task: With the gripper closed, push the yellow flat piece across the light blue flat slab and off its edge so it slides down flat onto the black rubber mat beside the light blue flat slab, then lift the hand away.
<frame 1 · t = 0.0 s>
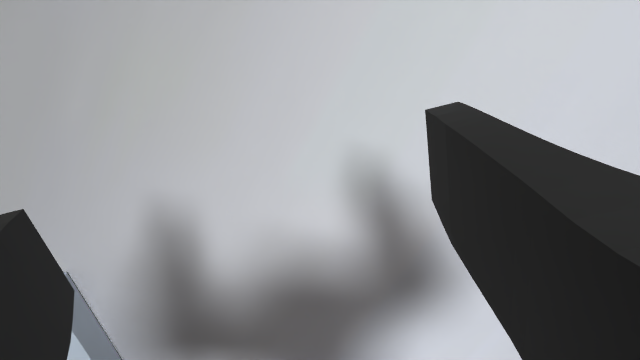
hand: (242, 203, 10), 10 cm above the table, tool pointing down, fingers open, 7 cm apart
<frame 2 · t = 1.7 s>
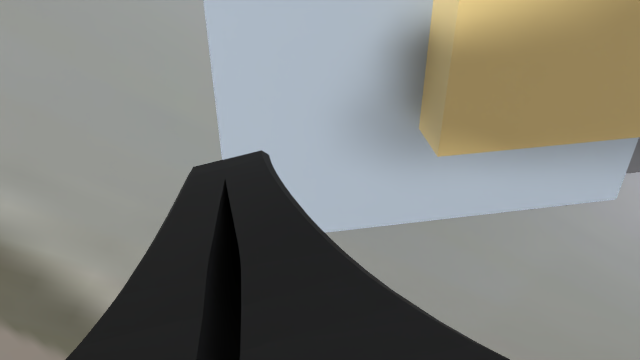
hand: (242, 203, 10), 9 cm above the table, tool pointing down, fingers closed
light blue flat slab: (437, 17, 19), on the table
yellow flat piece: (551, 32, 17), point 2 cm above the table, touching light blue flat slab
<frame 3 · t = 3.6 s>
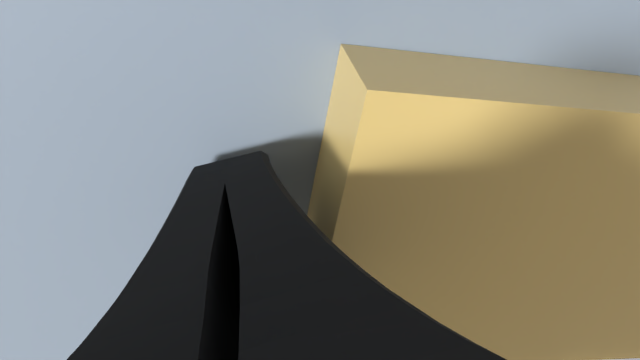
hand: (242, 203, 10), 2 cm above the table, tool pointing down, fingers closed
light blue flat slab: (290, 141, 12), on the table
yellow flat piece: (496, 200, 12), point 2 cm above the table, touching gripper
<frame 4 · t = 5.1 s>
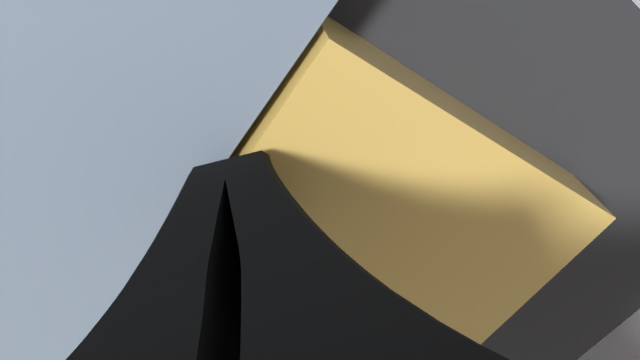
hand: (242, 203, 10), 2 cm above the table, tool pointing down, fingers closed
mat: (456, 248, 15), on the table
yellow flat piece: (378, 201, 13), resting on mat
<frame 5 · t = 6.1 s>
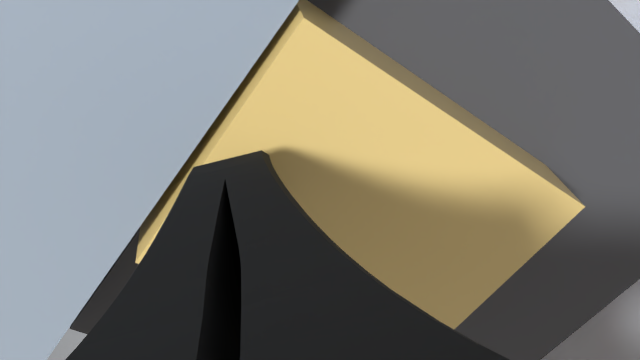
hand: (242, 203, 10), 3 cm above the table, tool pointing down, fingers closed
mat: (431, 236, 15), on the table
yellow flat piece: (354, 186, 14), resting on mat
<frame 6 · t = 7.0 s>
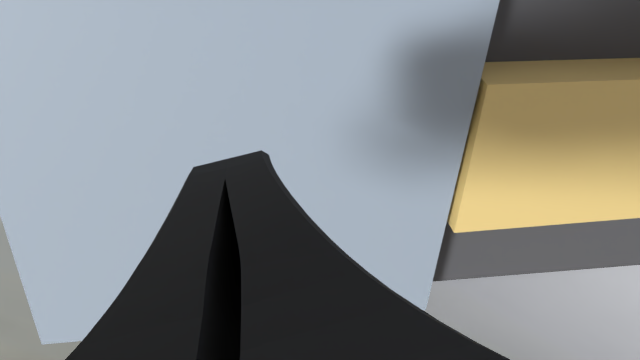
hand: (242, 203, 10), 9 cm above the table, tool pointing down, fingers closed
mat: (615, 134, 22), on the table
light blue flat slab: (239, 147, 20), on the table
yellow flat piece: (549, 134, 21), resting on mat
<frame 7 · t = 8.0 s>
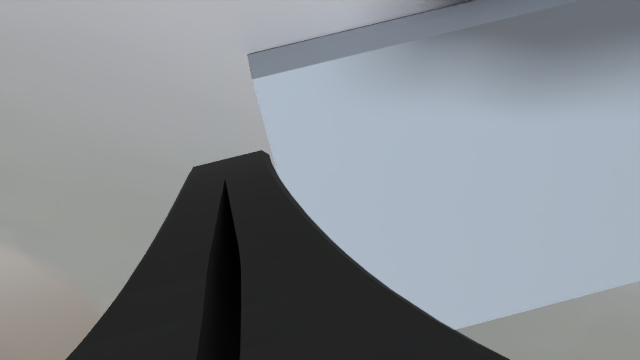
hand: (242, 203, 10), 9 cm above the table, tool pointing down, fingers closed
light blue flat slab: (470, 171, 23), on the table
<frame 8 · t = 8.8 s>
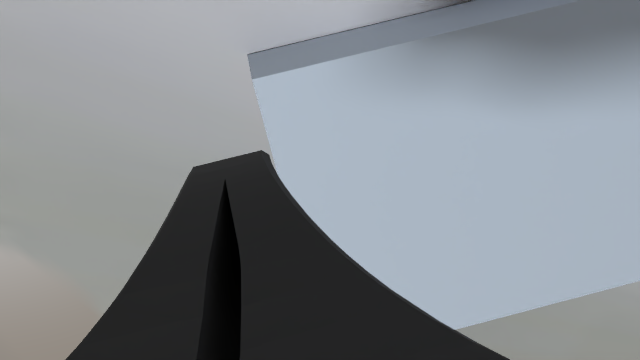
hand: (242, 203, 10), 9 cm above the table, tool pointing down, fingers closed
light blue flat slab: (470, 171, 23), on the table
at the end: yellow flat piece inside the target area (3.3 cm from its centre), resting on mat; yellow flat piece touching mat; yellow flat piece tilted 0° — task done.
